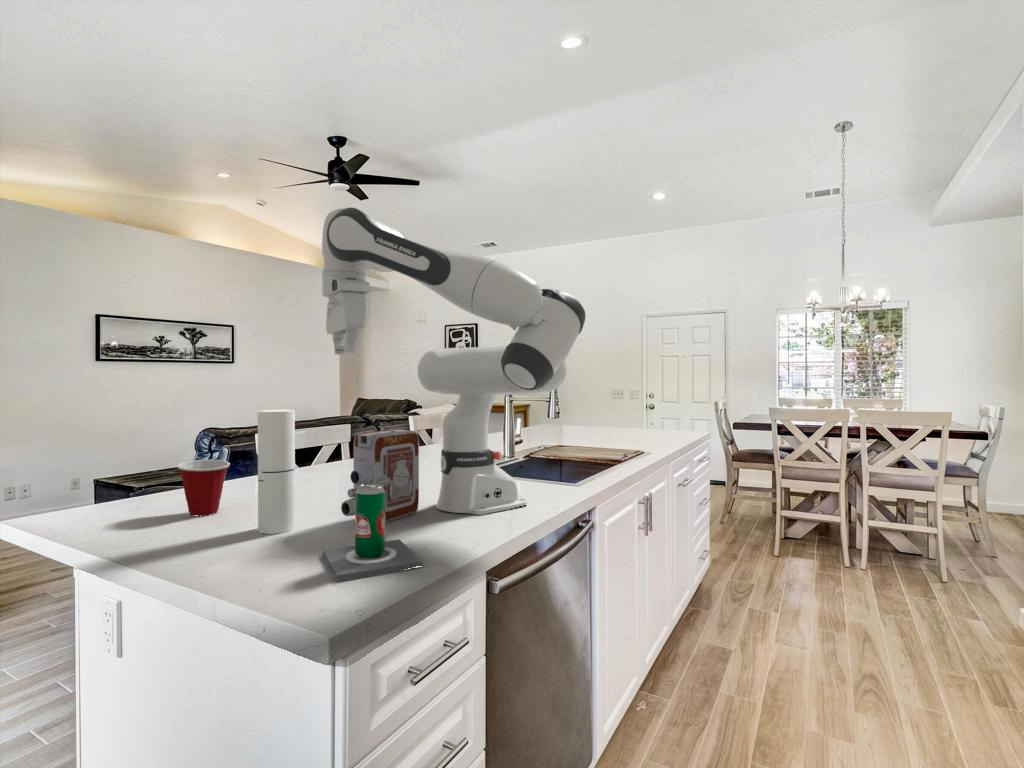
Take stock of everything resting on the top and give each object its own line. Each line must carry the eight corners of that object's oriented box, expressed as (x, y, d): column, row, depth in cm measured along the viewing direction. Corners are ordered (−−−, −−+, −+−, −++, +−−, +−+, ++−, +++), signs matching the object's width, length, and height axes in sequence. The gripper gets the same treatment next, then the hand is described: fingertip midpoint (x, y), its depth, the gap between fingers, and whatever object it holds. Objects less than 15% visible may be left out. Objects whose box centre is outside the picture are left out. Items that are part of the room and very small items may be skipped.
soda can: (348, 554, 94) (349, 485, 94) (373, 548, 98) (374, 481, 98) (366, 561, 91) (367, 490, 90) (390, 554, 94) (391, 485, 94)
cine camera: (329, 526, 117) (329, 433, 116) (395, 507, 133) (395, 426, 132) (358, 533, 111) (358, 436, 111) (423, 513, 128) (423, 428, 127)
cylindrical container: (281, 535, 110) (281, 412, 110) (250, 533, 111) (249, 411, 111) (302, 525, 117) (301, 410, 117) (272, 523, 118) (272, 409, 118)
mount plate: (399, 544, 104) (399, 538, 104) (422, 567, 92) (422, 560, 92) (323, 555, 97) (323, 548, 97) (336, 581, 85) (336, 574, 85)
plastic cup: (193, 522, 120) (192, 468, 119) (167, 515, 125) (167, 463, 125) (240, 511, 129) (239, 461, 129) (214, 505, 134) (214, 457, 134)
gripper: (319, 293, 122) (319, 355, 123) (340, 279, 105) (340, 351, 105) (347, 295, 126) (347, 355, 126) (372, 282, 108) (372, 352, 108)
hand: (344, 353), depth 115 cm, fingers open, 8 cm apart
